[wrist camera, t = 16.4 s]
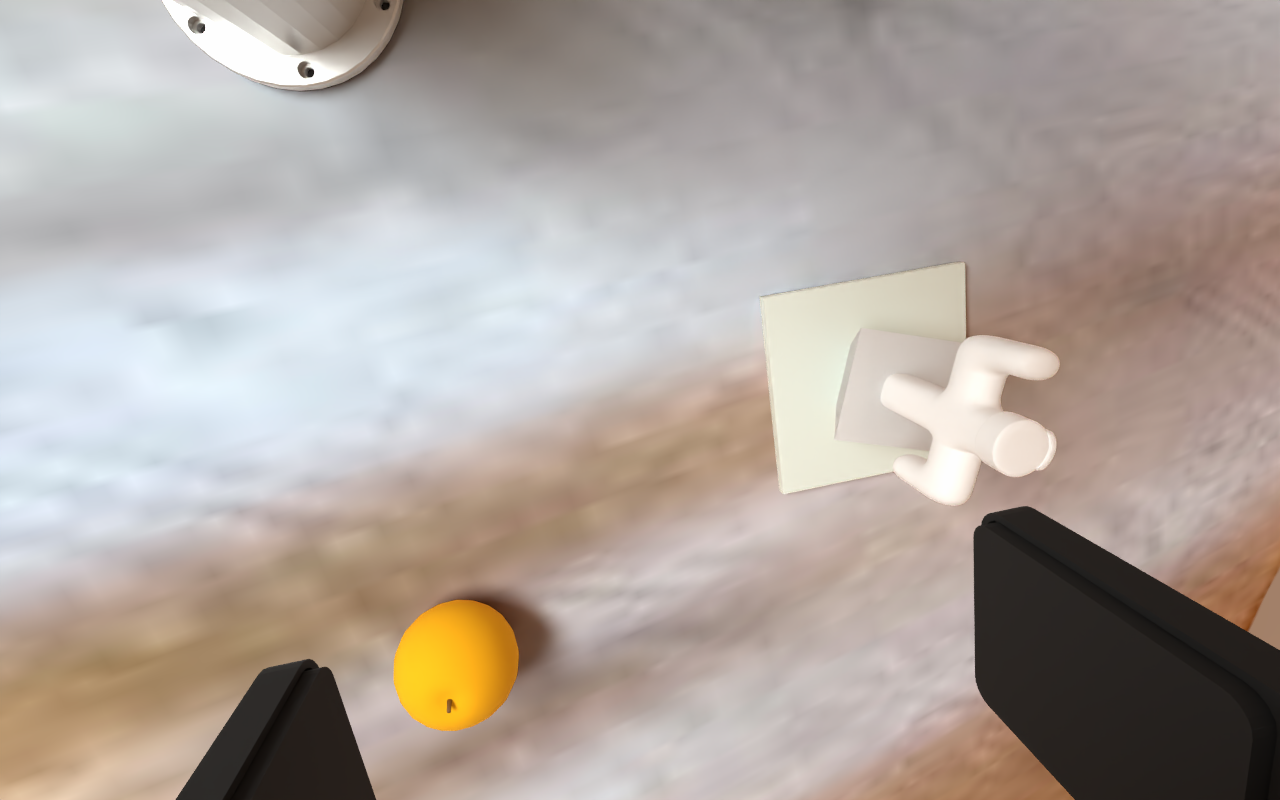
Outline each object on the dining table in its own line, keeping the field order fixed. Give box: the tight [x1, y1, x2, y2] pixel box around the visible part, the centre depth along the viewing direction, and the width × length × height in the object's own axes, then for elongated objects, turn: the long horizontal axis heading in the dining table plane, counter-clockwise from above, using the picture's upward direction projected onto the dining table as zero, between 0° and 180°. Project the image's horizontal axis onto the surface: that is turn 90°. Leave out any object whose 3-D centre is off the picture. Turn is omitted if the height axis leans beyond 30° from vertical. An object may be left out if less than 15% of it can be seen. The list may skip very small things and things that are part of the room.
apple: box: [394, 600, 519, 731], centre depth 42 cm, size 8×8×8 cm
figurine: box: [834, 328, 1060, 506], centre depth 37 cm, size 7×9×15 cm
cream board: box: [759, 262, 966, 494], centre depth 44 cm, size 14×14×1 cm
